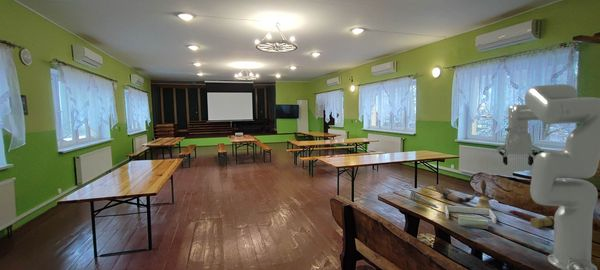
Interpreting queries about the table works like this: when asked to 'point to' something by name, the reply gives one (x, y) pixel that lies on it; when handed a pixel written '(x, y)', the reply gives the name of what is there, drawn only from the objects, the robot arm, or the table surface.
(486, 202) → the hand bell
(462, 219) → the pale green block
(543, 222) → the gavel
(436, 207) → the caliper
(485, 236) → the table surface
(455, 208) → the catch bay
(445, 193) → the antique flintlock pistol
